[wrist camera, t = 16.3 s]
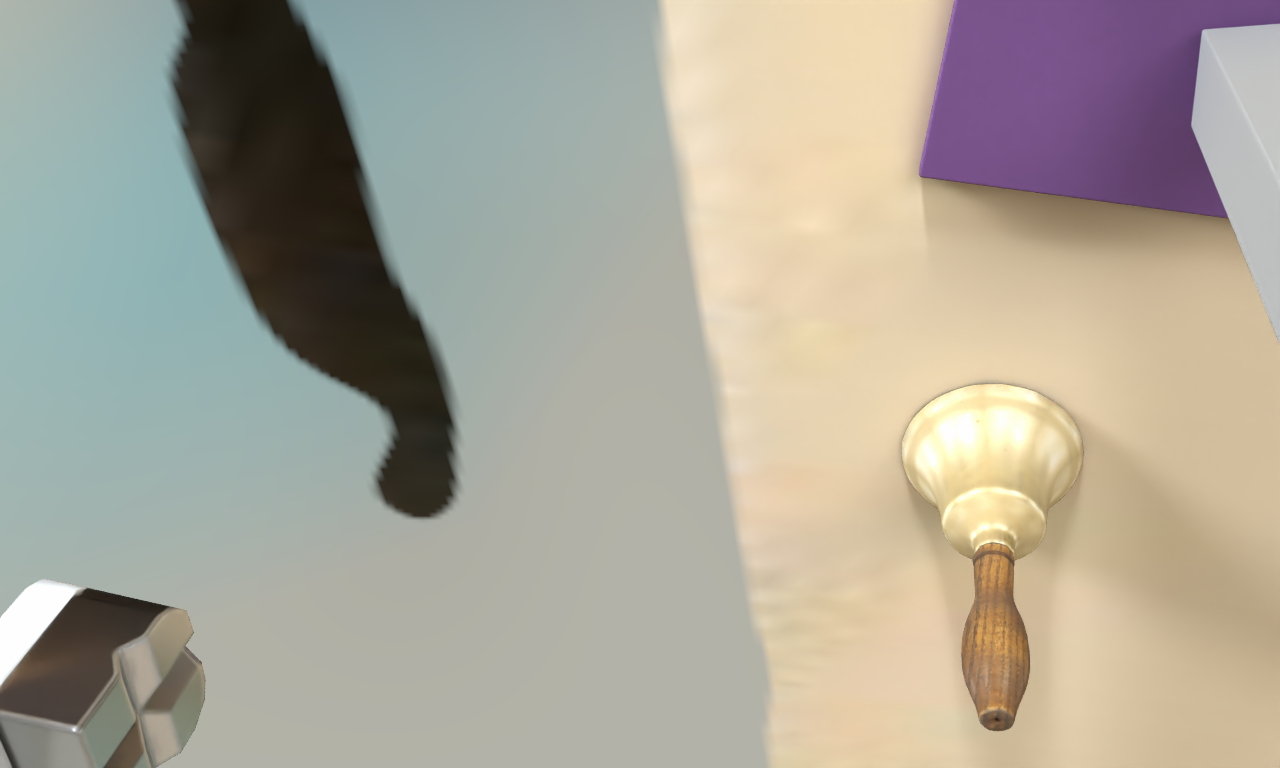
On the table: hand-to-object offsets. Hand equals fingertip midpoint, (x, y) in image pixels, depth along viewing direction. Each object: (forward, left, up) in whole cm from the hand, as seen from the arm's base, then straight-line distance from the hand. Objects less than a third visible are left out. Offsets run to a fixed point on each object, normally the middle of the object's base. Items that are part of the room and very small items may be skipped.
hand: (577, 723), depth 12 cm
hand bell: (+26, +11, -39) cm, 48 cm away
